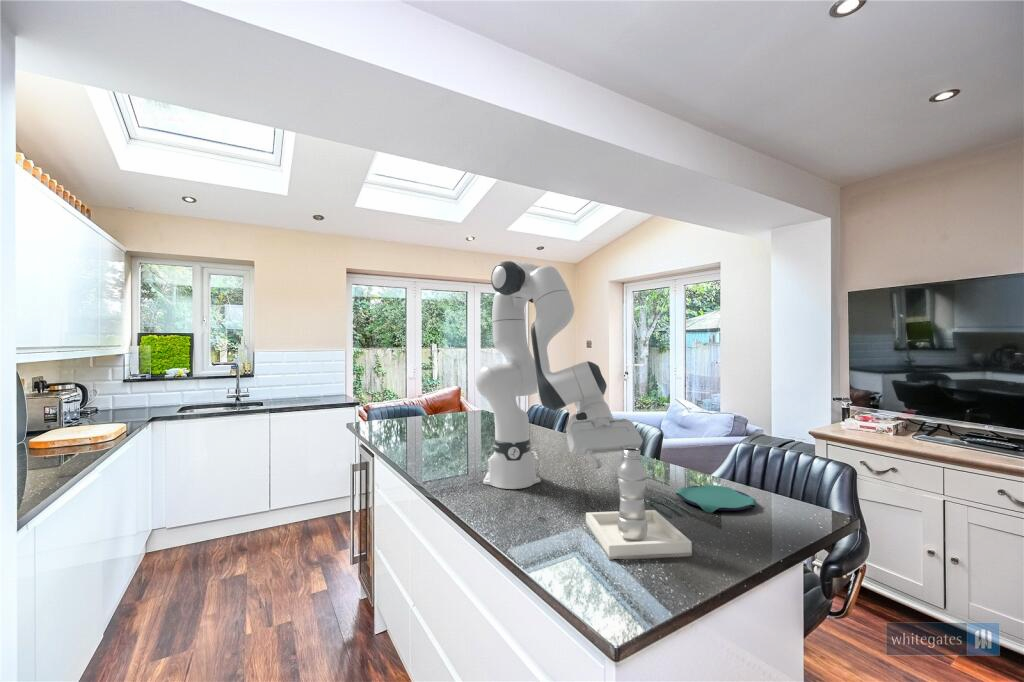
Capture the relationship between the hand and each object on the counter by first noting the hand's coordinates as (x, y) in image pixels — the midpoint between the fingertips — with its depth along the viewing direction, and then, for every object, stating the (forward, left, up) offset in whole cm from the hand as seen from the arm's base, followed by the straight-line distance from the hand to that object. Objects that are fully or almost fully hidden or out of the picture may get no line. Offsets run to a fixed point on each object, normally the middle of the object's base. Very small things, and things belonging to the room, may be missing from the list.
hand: (614, 465), depth 110 cm
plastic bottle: (+12, 0, -13) cm, 18 cm away
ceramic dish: (+11, +1, -14) cm, 18 cm away
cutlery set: (-10, +28, -15) cm, 33 cm away
